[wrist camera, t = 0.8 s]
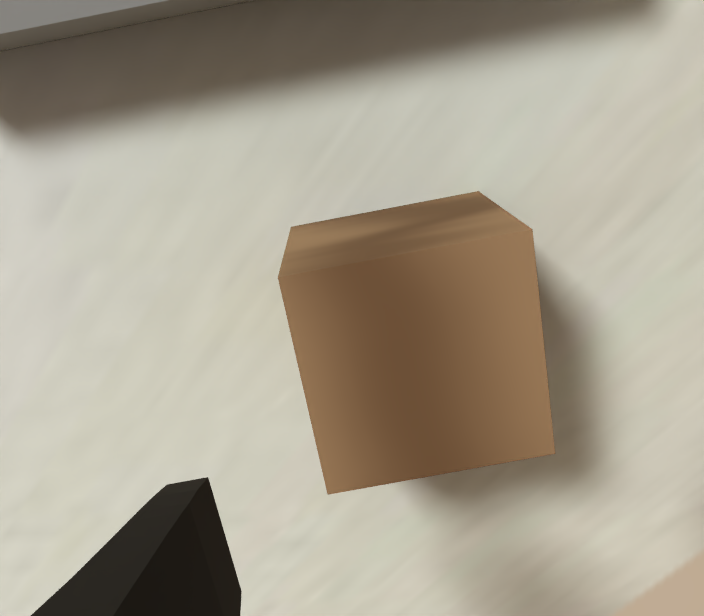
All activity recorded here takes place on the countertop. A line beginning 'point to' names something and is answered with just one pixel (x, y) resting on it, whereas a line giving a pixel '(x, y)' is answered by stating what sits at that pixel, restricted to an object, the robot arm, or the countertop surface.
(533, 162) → the countertop surface
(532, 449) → the walnut cube
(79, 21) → the slate board
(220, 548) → the robot arm
